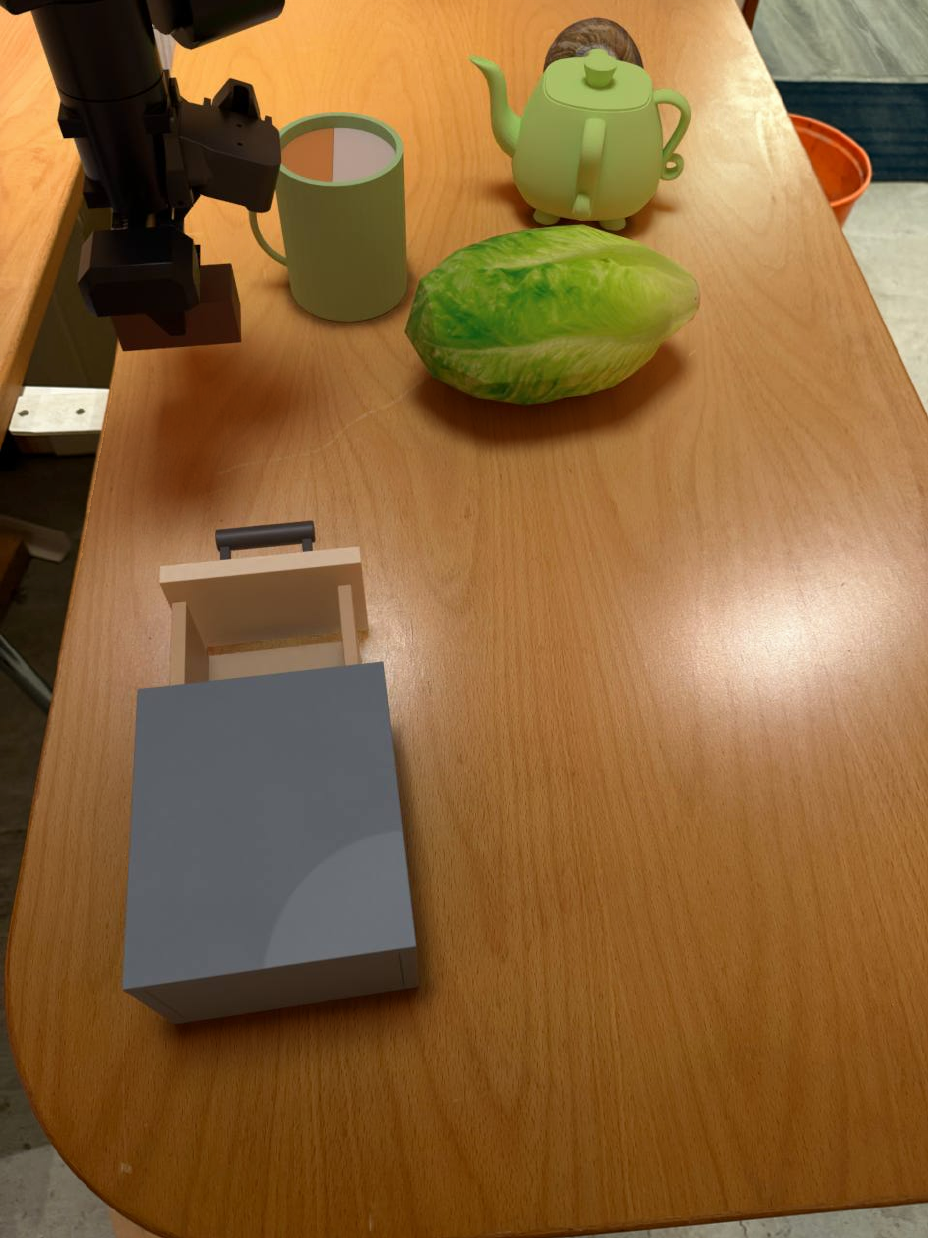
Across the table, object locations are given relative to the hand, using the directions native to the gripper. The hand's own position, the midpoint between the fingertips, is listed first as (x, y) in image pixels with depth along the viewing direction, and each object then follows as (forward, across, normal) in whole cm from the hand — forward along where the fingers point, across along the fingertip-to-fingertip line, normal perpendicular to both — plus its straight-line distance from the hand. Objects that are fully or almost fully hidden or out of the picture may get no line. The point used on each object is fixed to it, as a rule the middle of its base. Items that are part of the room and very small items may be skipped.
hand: (178, 313), depth 61 cm
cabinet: (+9, -36, -5) cm, 38 cm away
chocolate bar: (+1, 0, 0) cm, 1 cm away
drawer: (+8, -25, -5) cm, 27 cm away
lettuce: (+9, 0, -27) cm, 28 cm away
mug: (+9, +14, -11) cm, 20 cm away
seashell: (+9, +40, -40) cm, 58 cm away
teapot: (+9, +24, -34) cm, 43 cm away
